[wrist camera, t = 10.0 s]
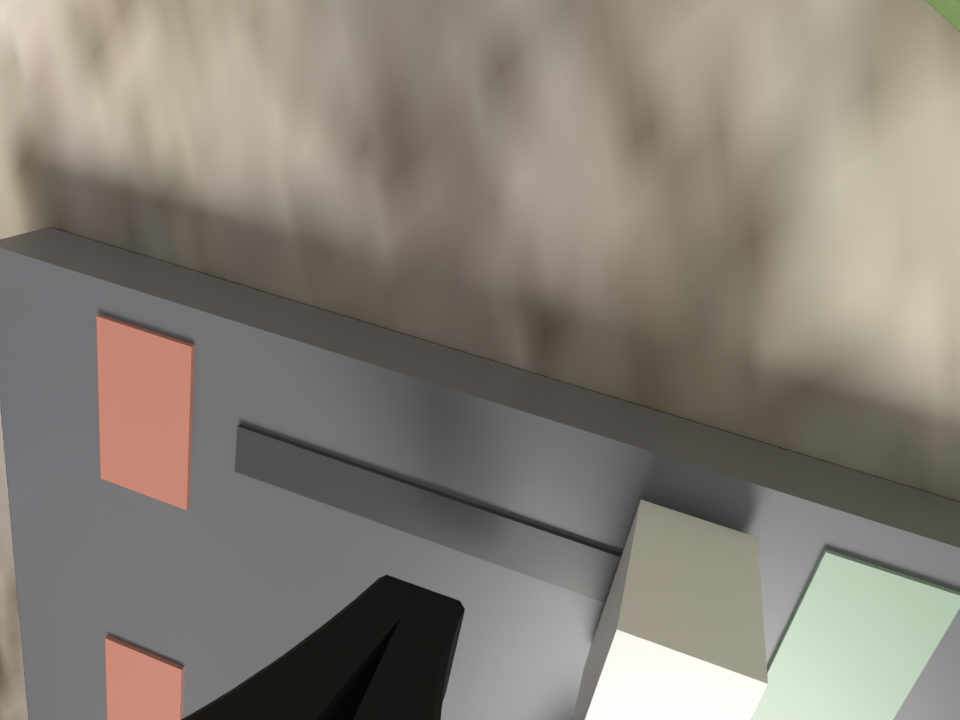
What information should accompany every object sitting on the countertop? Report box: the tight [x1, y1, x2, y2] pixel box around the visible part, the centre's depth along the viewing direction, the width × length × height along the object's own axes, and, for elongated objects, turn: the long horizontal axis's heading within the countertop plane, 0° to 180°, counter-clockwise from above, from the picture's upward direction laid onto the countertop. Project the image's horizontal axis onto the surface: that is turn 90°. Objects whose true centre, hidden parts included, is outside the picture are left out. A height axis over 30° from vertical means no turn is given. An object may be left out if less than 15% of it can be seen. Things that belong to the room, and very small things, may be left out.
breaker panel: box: [0, 227, 960, 720], centre depth 16 cm, size 20×13×2 cm, turn 79°
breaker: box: [572, 500, 768, 720], centre depth 11 cm, size 2×4×3 cm, turn 169°
